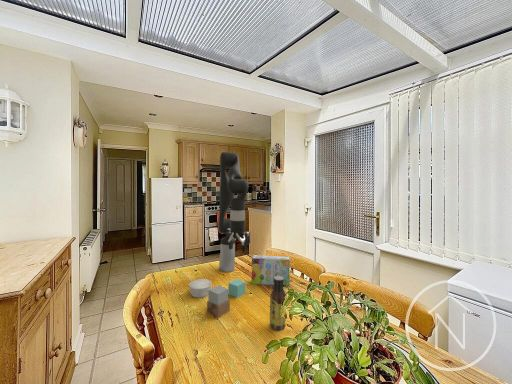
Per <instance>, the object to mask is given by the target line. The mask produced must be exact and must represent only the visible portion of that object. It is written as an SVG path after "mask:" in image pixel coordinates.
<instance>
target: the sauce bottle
mask: <svg viewBox="0 0 512 384" xmlns="http://www.w3.org/2000/svg"><path fill="white" fill-rule="evenodd" d="M273 281H274V285H273V290H272V291H271V293H270V298H269V299H270V300H269V326H270V327H271V329H274V330H277V331H281V330H283V329H285V327H286V321H287V320H286V318H287V317H286V318H284V317H280V310H281V306H282V302H283V299H284V297H285V296H286V297H287V295H286V292H285V290H284V286H283V282H284V278H283V277H282V276H275V277H274V279H273Z"/></svg>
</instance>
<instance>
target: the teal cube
mask: <svg viewBox="0 0 512 384" xmlns="http://www.w3.org/2000/svg"><path fill="white" fill-rule="evenodd" d="M245 294H246V281H243V280H240V279H237V278H236V279H234V280H232V281H230V282H228V296H231V297H234V298H236V299H238V298H240V297H242V296H243V295H245Z"/></svg>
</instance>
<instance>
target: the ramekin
mask: <svg viewBox="0 0 512 384" xmlns="http://www.w3.org/2000/svg"><path fill="white" fill-rule="evenodd" d="M212 284H213V283H212V281H211V280H210V279H206V278H198V279H194V280H192V281H190V283H189V285H188V287H189V291H190V295H191V296H192V297H193V298H205V297H208V290H210V289H212V288H211V287H212Z"/></svg>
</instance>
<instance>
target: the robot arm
mask: <svg viewBox="0 0 512 384" xmlns="http://www.w3.org/2000/svg"><path fill="white" fill-rule="evenodd" d="M219 157H220V158H219V159H220V160H219V161H220V162H219V171H220V172H219V173H220V175H219V176H220V177H219V178H220V180H219V181H220V182H219V183H220V184H219V211H218V213H219V215H218V232H219V234H225V236H224V237H221V239H220V254H219V262H218V266H219V267H218V269H219V270H220V271H221V272H225V273H228V272H230V273H231V272H234V271H235V269H236V268H235V265H236V263H235V260H236V259H235V258H236V257H235V256H236V254H235V253H236V252H235V251H236V248H235V247H236V245H235V244H236V240H238V241H239V242H241V243H240V244H241V253H242V254H244V253H247V245H249V244H251V233H250V231H245V229H246V211H245V210H246V207H245V206H246V197H247V193H248V192H249V191H248V190H249V188H250V187H249V181H248V180H246V179H243V175H242V173H241V168H240V167H241V166H240V157H239V155H238V153H236V152H227V151H225V152H224V151H223V152H221V153H220V156H219ZM226 168H229V169H228V171H227V169H226ZM235 194H239V196H238V197H235ZM229 208H230V213H229V215H230V216H229V218H225V217H226V213H227V211H228V209H229Z"/></svg>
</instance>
